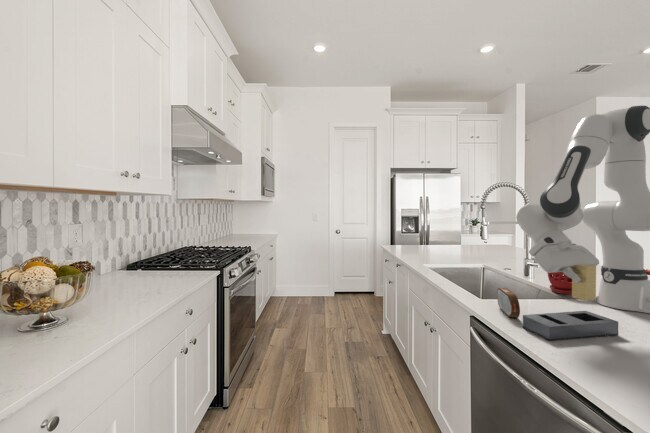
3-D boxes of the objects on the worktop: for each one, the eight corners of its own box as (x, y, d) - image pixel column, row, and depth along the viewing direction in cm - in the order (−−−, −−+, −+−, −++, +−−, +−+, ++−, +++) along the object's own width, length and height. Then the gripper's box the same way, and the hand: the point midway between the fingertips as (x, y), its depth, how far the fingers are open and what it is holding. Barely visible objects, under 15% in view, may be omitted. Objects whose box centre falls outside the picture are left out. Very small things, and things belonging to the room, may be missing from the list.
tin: (521, 321, 104) (520, 295, 104) (510, 320, 105) (510, 295, 105) (504, 307, 119) (504, 284, 119) (495, 306, 120) (495, 284, 120)
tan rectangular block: (581, 295, 98) (581, 263, 98) (595, 299, 94) (596, 266, 94) (571, 297, 97) (572, 264, 96) (586, 300, 93) (586, 266, 93)
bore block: (585, 323, 101) (585, 310, 101) (618, 335, 91) (618, 321, 91) (522, 327, 99) (522, 315, 99) (549, 340, 89) (549, 326, 89)
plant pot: (543, 287, 146) (543, 261, 145) (578, 289, 141) (578, 262, 140) (552, 295, 133) (552, 266, 133) (590, 297, 129) (590, 268, 128)
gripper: (570, 249, 109) (601, 283, 100) (524, 252, 103) (554, 289, 94) (584, 237, 105) (618, 272, 96) (537, 240, 99) (569, 277, 89)
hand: (586, 281), depth 95 cm, fingers closed on tan rectangular block, 4 cm apart
